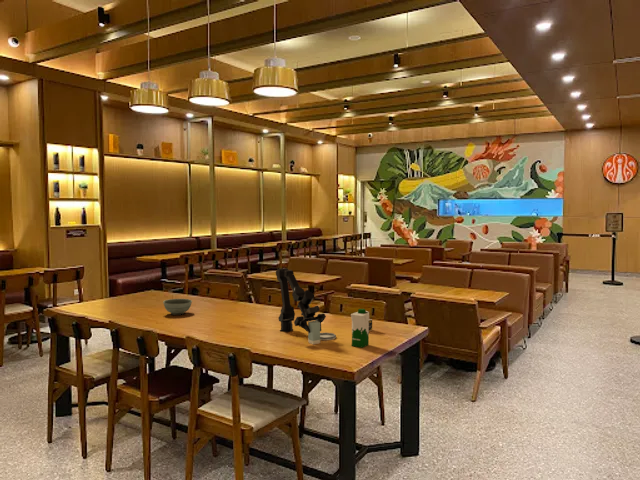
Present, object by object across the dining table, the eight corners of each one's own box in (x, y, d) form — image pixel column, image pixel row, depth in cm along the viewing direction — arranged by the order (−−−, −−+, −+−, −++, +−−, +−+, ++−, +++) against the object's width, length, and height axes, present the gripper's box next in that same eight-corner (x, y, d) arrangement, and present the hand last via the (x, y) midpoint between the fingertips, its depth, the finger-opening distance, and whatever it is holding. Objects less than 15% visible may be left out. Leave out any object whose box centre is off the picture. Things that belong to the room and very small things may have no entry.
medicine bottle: (363, 332, 302) (363, 313, 301) (356, 330, 308) (356, 311, 307) (372, 330, 306) (372, 311, 306) (364, 328, 312) (364, 309, 311)
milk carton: (370, 344, 273) (370, 309, 272) (363, 348, 266) (362, 312, 265) (357, 342, 278) (356, 307, 277) (349, 346, 271) (348, 310, 270)
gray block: (308, 342, 280) (308, 321, 279) (315, 341, 282) (315, 320, 282) (312, 344, 275) (312, 323, 275) (320, 343, 278) (320, 322, 277)
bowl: (169, 311, 374) (168, 298, 373) (196, 311, 373) (195, 298, 373) (159, 317, 353) (158, 303, 353) (187, 316, 352) (187, 303, 352)
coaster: (311, 338, 287) (311, 336, 287) (320, 334, 298) (320, 331, 298) (330, 341, 282) (330, 338, 282) (339, 336, 293) (339, 333, 293)
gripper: (296, 303, 276) (306, 326, 267) (324, 299, 286) (334, 321, 277) (289, 314, 283) (299, 337, 274) (317, 310, 293) (327, 332, 284)
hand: (315, 331), depth 277 cm, fingers open, 7 cm apart
